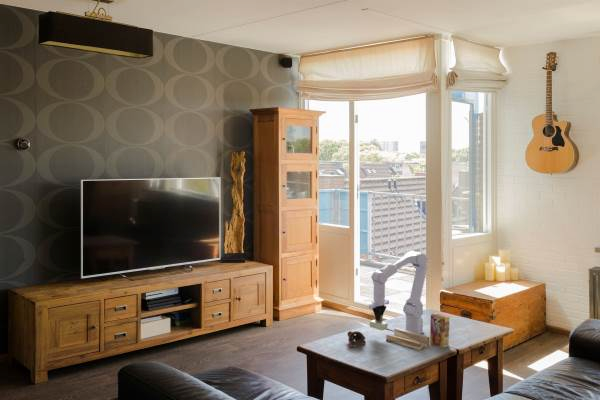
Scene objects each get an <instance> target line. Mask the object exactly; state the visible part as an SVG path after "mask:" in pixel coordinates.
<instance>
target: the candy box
mask: <svg viewBox="0 0 600 400" xmlns="http://www.w3.org/2000/svg"><path fill="white" fill-rule="evenodd" d="M429 326H430V331H429V332H430V333H429V335H430V336H429V345H434V346H437V347H440V348H444V349H445V348H447V347H449V343H450V342H449V341H450V340H449V339H450V316H449V315H444V314H440V313H436V312H434V313H431V314H430V325H429Z"/></svg>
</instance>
